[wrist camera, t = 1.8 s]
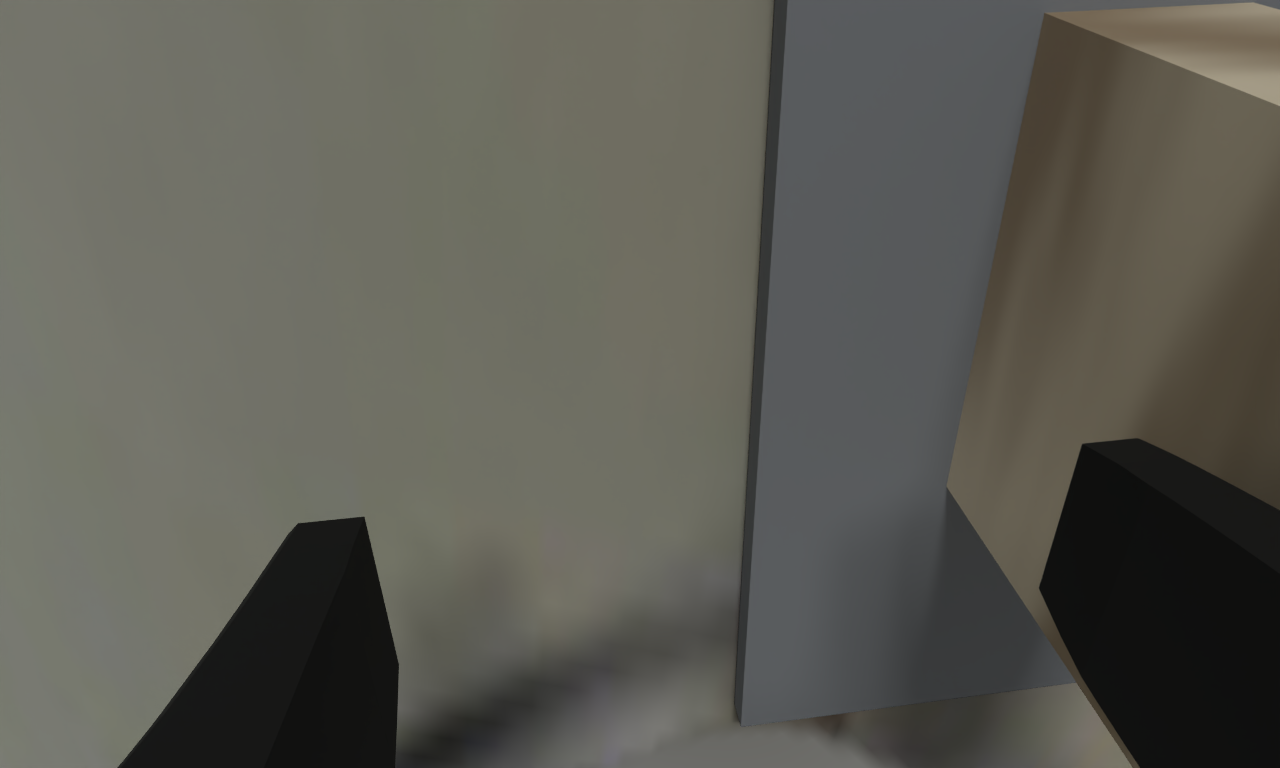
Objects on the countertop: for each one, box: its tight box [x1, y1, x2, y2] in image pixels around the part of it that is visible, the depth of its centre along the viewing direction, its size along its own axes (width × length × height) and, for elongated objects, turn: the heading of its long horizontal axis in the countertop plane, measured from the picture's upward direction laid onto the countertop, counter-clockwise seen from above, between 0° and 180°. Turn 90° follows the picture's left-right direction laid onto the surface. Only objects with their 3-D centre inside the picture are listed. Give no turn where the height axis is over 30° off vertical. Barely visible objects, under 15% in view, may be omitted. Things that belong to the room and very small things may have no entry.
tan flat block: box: [946, 2, 1280, 768], centre depth 11 cm, size 3×8×8 cm, turn 1°
